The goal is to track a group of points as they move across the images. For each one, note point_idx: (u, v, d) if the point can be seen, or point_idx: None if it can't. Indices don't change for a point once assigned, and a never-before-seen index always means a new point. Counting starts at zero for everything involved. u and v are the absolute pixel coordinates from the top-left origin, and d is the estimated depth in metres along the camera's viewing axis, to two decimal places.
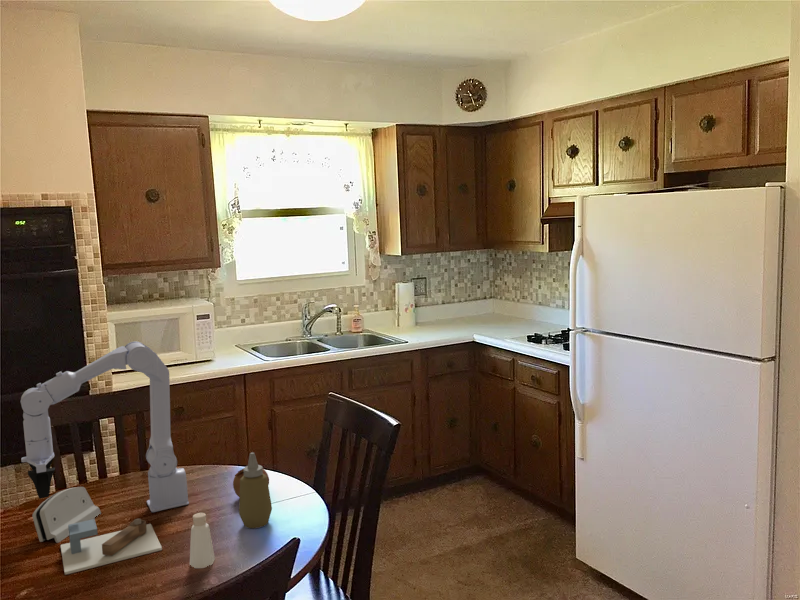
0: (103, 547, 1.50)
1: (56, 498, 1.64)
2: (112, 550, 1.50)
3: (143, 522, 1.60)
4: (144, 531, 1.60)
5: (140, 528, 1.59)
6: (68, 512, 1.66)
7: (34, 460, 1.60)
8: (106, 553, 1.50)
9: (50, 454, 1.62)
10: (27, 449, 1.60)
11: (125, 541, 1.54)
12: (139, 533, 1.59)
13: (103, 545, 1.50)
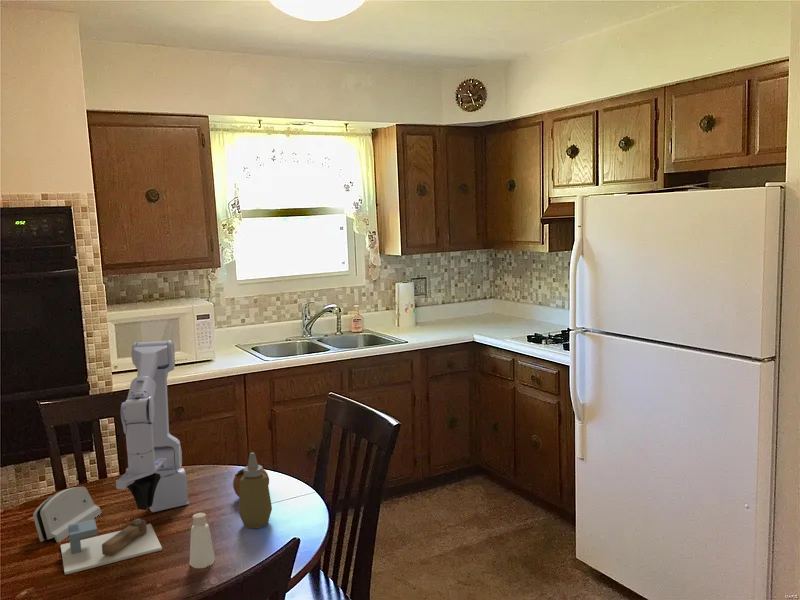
0: (103, 547, 1.50)
1: (57, 498, 1.64)
2: (112, 550, 1.50)
3: (143, 522, 1.60)
4: (144, 531, 1.60)
5: (140, 528, 1.59)
6: (69, 512, 1.66)
7: (129, 473, 1.51)
8: (106, 553, 1.50)
9: (144, 471, 1.51)
10: None
11: (125, 541, 1.54)
12: (139, 533, 1.59)
13: (103, 545, 1.50)
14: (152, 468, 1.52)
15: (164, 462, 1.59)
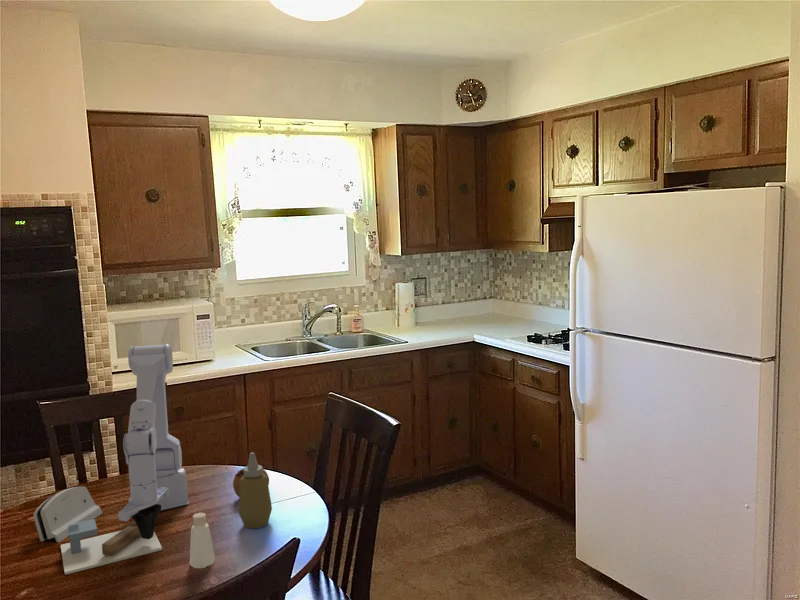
0: (103, 547, 1.50)
1: (57, 498, 1.64)
2: (112, 550, 1.50)
3: None
4: None
5: None
6: (69, 512, 1.66)
7: (131, 504, 1.52)
8: (106, 553, 1.50)
9: (146, 502, 1.52)
10: None
11: (125, 541, 1.54)
12: (139, 533, 1.59)
13: (103, 545, 1.50)
14: (154, 499, 1.53)
15: (166, 491, 1.60)
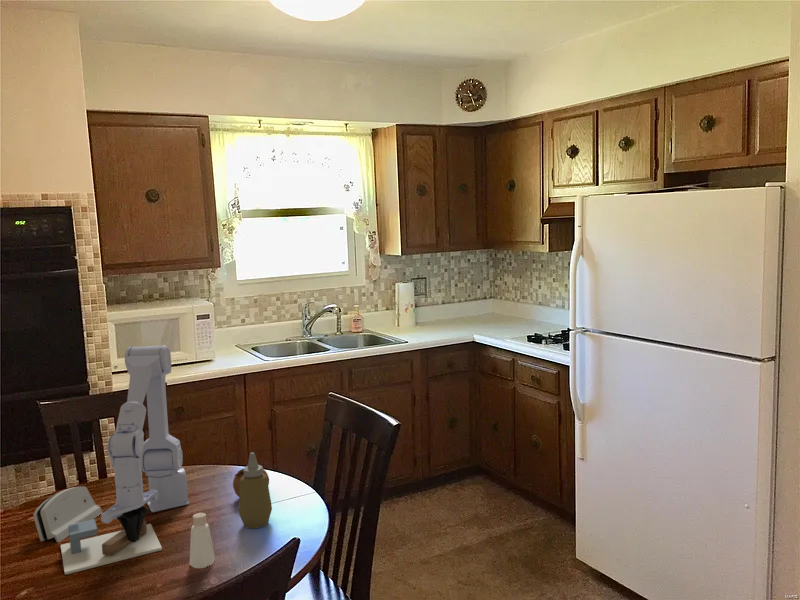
0: (103, 547, 1.50)
1: (57, 498, 1.64)
2: (112, 550, 1.50)
3: (143, 522, 1.60)
4: (144, 531, 1.60)
5: None
6: (69, 512, 1.66)
7: (117, 506, 1.52)
8: (106, 553, 1.50)
9: (131, 505, 1.51)
10: None
11: (125, 541, 1.54)
12: None
13: (103, 545, 1.50)
14: (139, 502, 1.52)
15: (155, 494, 1.59)
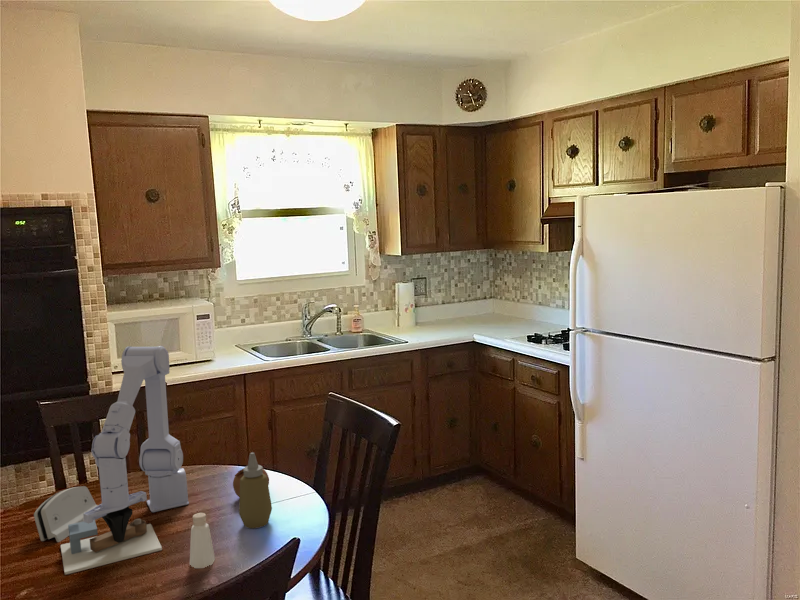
0: (90, 542, 1.52)
1: (58, 497, 1.64)
2: (96, 547, 1.51)
3: (142, 523, 1.60)
4: (141, 532, 1.59)
5: (137, 529, 1.59)
6: (70, 511, 1.66)
7: (101, 506, 1.52)
8: (92, 549, 1.52)
9: (113, 506, 1.51)
10: None
11: None
12: (135, 534, 1.59)
13: (90, 540, 1.52)
14: (123, 503, 1.52)
15: (142, 496, 1.58)
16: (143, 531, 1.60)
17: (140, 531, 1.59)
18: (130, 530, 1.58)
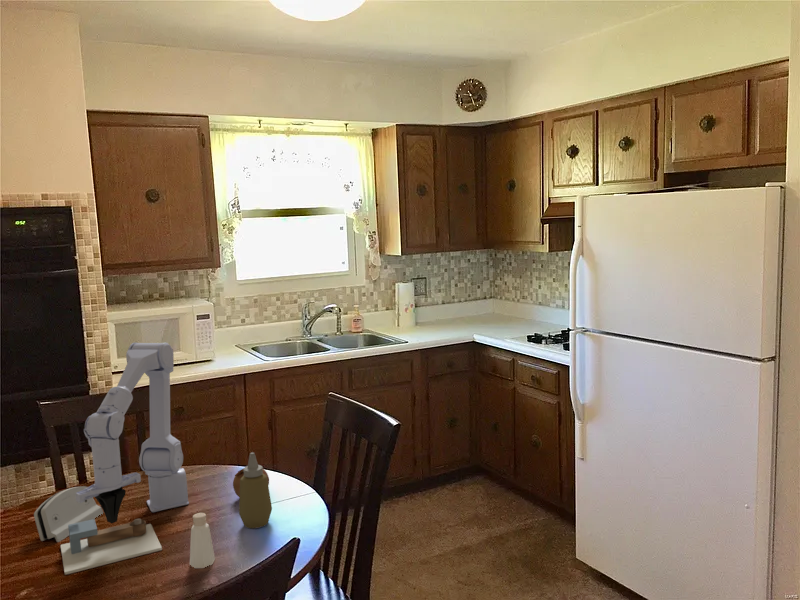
0: None
1: (58, 497, 1.64)
2: (90, 542, 1.54)
3: (141, 524, 1.59)
4: (139, 533, 1.59)
5: (134, 529, 1.58)
6: (70, 511, 1.66)
7: (94, 486, 1.52)
8: None
9: (106, 486, 1.51)
10: None
11: (110, 537, 1.56)
12: (133, 534, 1.59)
13: None
14: (115, 484, 1.52)
15: (136, 477, 1.58)
16: (141, 532, 1.59)
17: (137, 532, 1.59)
18: (127, 529, 1.58)
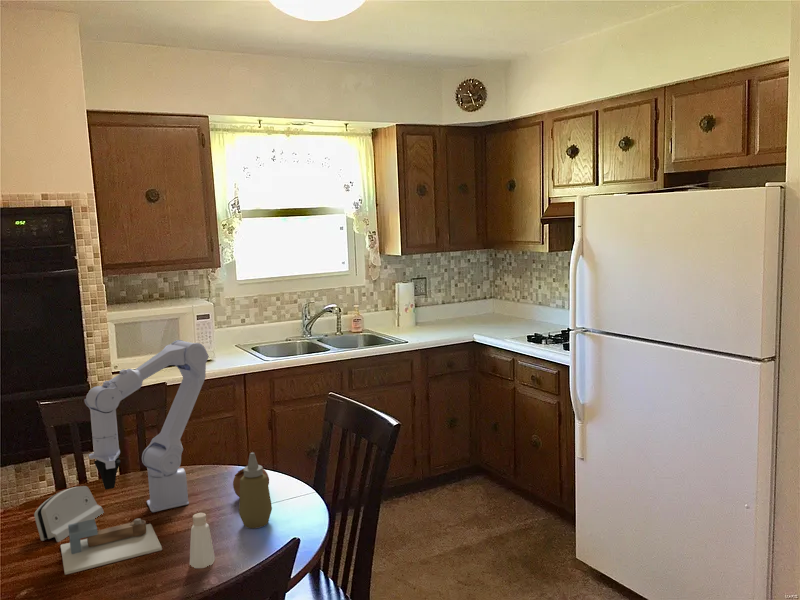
0: None
1: (58, 497, 1.65)
2: (89, 542, 1.54)
3: (141, 524, 1.59)
4: (139, 533, 1.59)
5: (134, 529, 1.58)
6: (70, 511, 1.66)
7: (102, 457, 1.63)
8: None
9: (117, 451, 1.65)
10: (95, 446, 1.63)
11: (110, 537, 1.56)
12: (133, 534, 1.59)
13: None
14: None
15: None
16: (141, 532, 1.59)
17: (137, 532, 1.59)
18: (127, 529, 1.58)
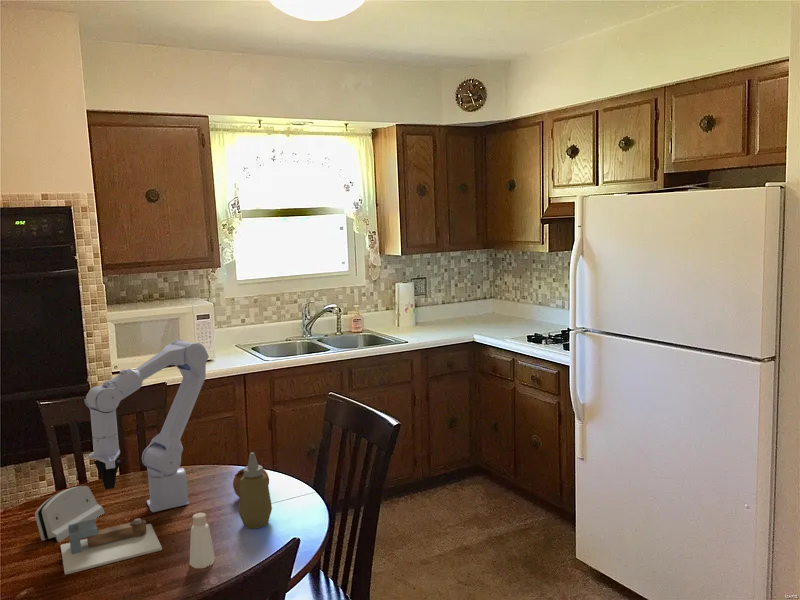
0: None
1: (59, 497, 1.65)
2: (89, 542, 1.54)
3: (141, 524, 1.59)
4: (139, 533, 1.59)
5: (134, 529, 1.58)
6: (71, 511, 1.66)
7: (102, 457, 1.63)
8: None
9: (117, 451, 1.65)
10: (95, 446, 1.63)
11: (110, 537, 1.56)
12: (133, 534, 1.59)
13: None
14: None
15: None
16: (141, 532, 1.59)
17: (137, 532, 1.59)
18: (127, 529, 1.58)
